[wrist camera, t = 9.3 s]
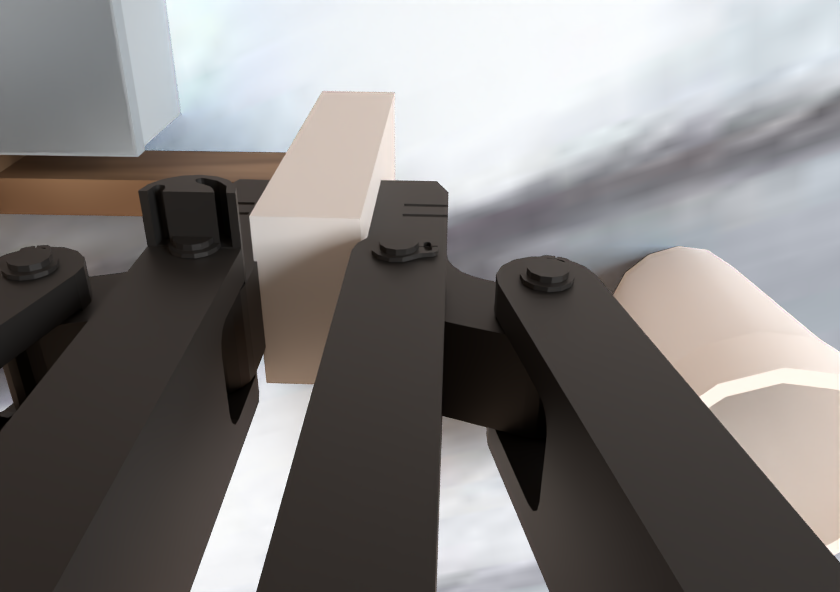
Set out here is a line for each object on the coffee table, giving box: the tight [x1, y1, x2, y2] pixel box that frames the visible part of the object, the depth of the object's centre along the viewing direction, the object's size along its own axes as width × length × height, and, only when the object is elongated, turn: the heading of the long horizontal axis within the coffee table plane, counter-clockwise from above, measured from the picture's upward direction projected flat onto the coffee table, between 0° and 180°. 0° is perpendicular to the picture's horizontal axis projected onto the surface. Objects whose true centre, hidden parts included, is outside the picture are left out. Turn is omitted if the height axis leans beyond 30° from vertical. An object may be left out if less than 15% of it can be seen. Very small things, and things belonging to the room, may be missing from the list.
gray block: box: [0, 0, 181, 157], centre depth 31 cm, size 7×7×6 cm
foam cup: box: [613, 246, 840, 555], centre depth 33 cm, size 10×9×13 cm
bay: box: [0, 151, 286, 216], centre depth 31 cm, size 14×18×5 cm
